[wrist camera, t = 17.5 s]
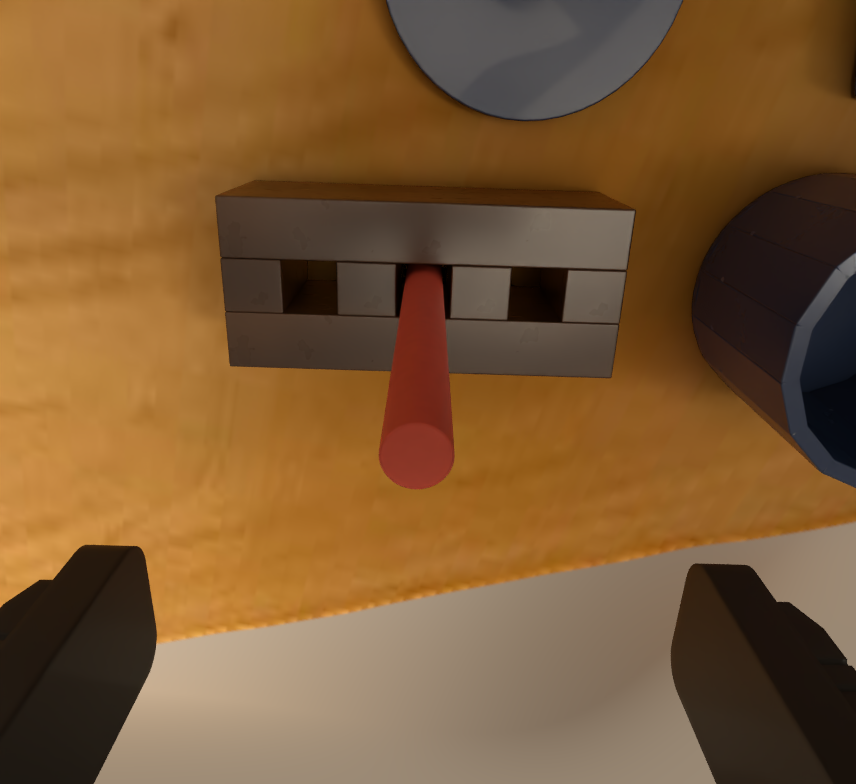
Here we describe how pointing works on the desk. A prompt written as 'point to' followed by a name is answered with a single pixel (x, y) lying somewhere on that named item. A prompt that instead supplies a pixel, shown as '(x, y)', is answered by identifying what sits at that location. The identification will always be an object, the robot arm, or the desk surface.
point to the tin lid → (531, 50)
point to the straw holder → (423, 244)
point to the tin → (789, 315)
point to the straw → (419, 387)
